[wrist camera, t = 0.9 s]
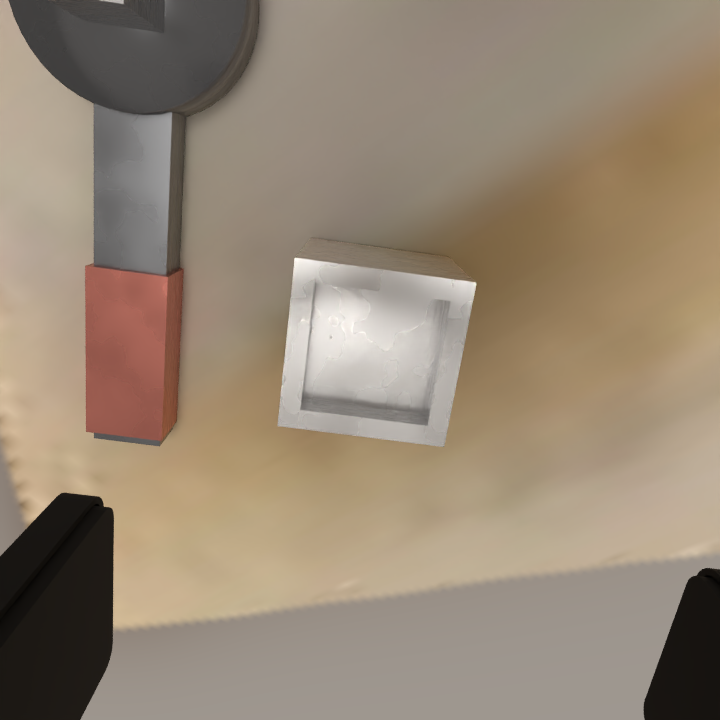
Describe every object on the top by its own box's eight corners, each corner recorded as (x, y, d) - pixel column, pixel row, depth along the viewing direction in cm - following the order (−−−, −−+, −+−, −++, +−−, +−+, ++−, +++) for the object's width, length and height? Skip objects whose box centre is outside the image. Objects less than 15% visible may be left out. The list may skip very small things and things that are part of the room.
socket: (310, 237, 28) (295, 257, 21) (448, 256, 28) (476, 282, 21) (296, 369, 30) (277, 425, 23) (425, 386, 30) (444, 447, 23)
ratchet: (227, 436, 31) (190, 508, 24) (54, 414, 30) (-33, 481, 24) (268, -104, 24) (231, -215, 17) (42, -141, 23) (-88, -269, 16)
